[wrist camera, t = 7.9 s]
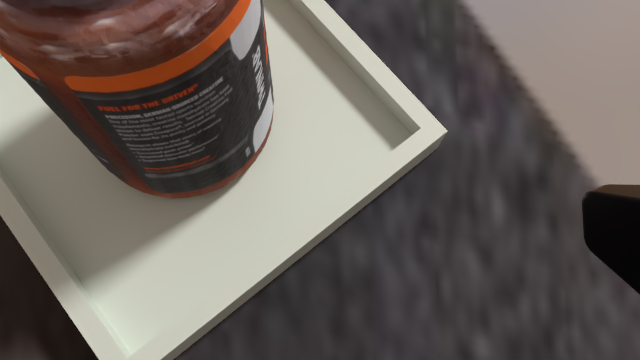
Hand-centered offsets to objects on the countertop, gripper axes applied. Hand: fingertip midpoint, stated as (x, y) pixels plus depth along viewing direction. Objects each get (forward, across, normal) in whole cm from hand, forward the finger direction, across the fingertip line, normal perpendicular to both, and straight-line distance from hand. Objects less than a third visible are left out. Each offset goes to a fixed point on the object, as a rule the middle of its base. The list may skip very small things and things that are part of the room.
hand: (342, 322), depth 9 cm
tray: (+13, 0, 0) cm, 13 cm away
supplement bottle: (+13, 0, -1) cm, 13 cm away
